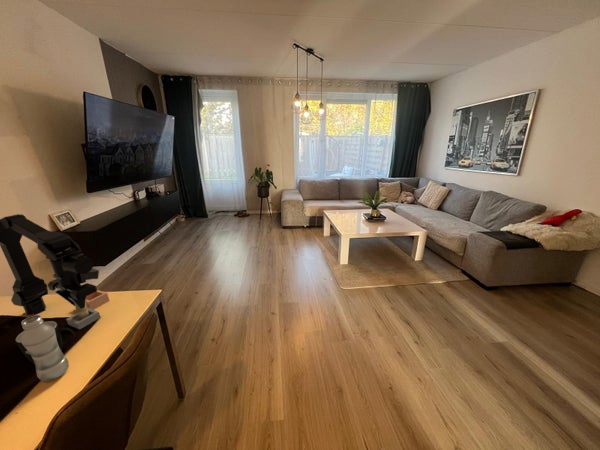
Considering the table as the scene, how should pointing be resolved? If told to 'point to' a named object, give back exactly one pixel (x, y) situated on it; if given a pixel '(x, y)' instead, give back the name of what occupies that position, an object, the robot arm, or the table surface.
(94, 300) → the square box
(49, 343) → the plastic bottle
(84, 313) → the dowel
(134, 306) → the table surface
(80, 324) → the socket block
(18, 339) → the mug
